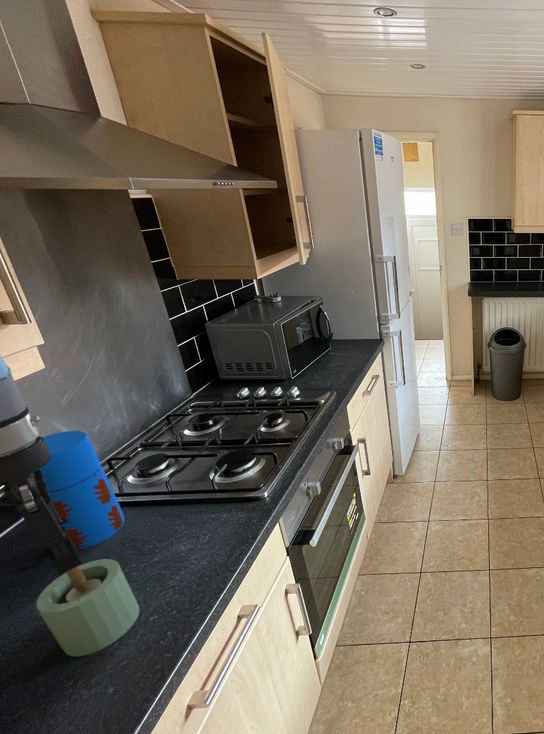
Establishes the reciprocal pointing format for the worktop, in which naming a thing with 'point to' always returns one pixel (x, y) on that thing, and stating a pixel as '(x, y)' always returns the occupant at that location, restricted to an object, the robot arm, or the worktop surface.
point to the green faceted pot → (89, 609)
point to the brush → (80, 584)
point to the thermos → (81, 489)
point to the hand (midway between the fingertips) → (69, 564)
